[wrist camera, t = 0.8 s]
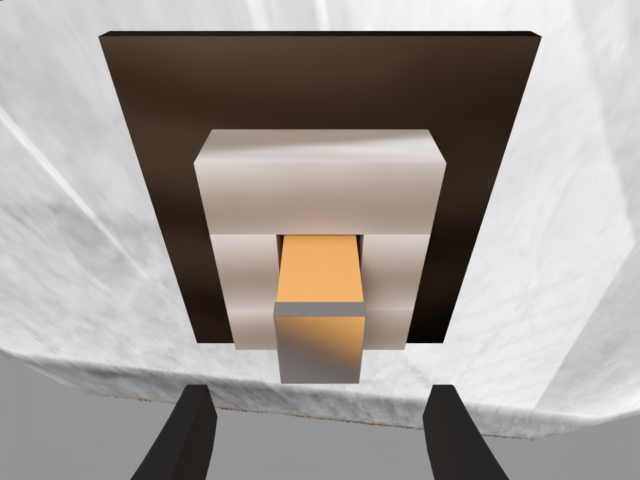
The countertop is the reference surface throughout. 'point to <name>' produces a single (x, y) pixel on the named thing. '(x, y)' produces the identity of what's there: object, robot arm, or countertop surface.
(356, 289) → the plug
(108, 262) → the countertop surface
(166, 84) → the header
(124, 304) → the countertop surface
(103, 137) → the countertop surface
